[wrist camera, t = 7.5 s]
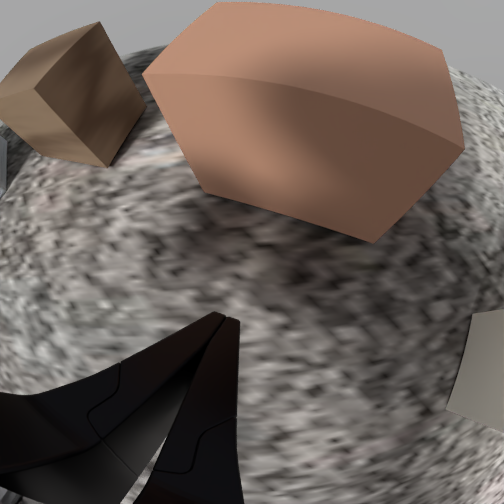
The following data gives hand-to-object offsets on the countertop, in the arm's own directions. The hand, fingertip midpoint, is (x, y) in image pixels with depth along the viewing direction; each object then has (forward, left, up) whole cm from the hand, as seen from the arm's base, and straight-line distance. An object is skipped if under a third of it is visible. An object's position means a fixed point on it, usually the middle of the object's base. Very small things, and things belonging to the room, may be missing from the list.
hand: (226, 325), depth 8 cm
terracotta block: (+6, -7, -6) cm, 11 cm away
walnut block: (+20, +4, -6) cm, 21 cm away
